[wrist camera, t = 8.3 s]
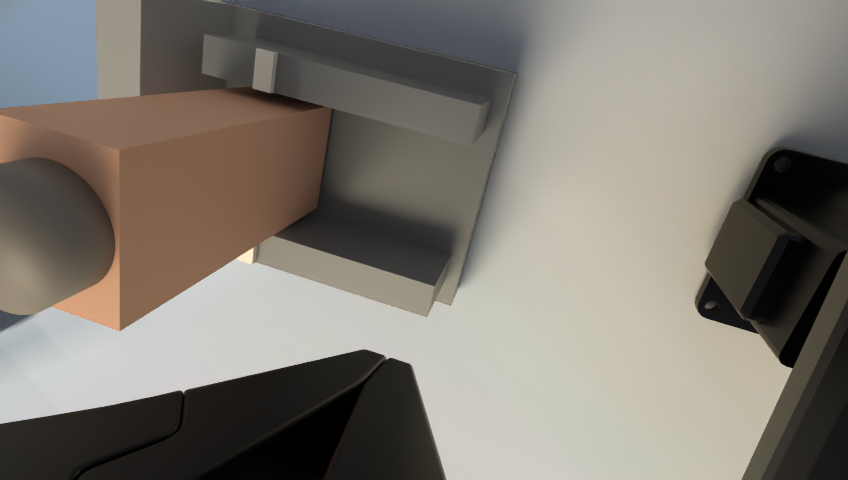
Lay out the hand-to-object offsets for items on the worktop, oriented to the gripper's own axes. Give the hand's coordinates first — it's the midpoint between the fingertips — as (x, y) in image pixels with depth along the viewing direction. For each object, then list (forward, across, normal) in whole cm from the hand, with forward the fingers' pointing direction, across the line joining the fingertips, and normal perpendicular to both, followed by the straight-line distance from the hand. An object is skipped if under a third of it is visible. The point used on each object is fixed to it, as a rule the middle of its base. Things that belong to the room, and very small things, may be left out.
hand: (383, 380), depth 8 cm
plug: (+11, -8, 0) cm, 13 cm away
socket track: (+13, -6, 0) cm, 14 cm away
